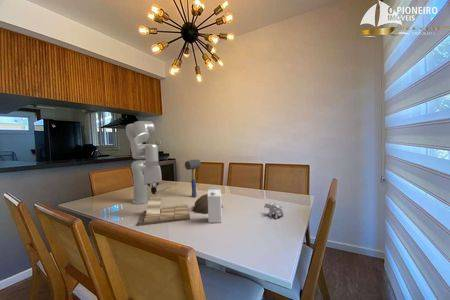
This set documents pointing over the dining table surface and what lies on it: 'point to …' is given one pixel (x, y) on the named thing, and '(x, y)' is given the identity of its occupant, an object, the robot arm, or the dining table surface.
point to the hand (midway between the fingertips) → (153, 193)
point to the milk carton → (214, 205)
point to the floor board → (166, 215)
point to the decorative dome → (202, 205)
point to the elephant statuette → (274, 209)
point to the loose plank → (153, 206)
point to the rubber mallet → (193, 173)
